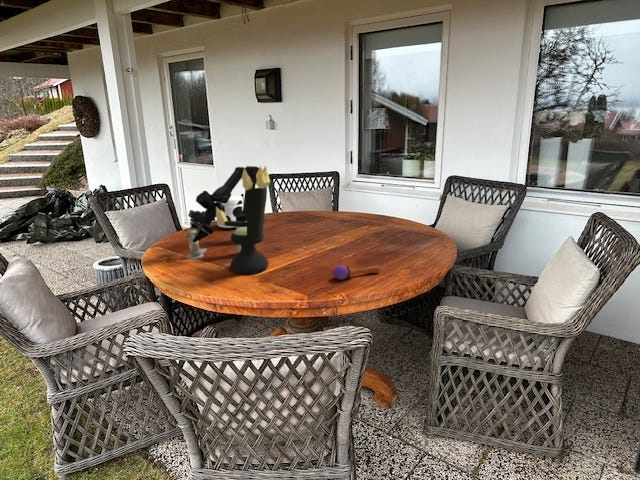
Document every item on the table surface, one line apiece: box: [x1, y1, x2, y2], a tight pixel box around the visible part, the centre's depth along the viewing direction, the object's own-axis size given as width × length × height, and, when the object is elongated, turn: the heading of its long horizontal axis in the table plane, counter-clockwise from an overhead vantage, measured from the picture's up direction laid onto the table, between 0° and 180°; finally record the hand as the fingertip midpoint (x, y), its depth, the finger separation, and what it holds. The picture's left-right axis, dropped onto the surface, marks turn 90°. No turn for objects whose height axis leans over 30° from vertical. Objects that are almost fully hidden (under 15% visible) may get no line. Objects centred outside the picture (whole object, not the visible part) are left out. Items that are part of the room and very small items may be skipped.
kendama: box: [332, 264, 381, 281], centre depth 172 cm, size 6×6×20 cm
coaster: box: [186, 253, 205, 260], centre depth 203 cm, size 8×8×1 cm
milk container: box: [215, 194, 244, 230], centre depth 253 cm, size 17×17×18 cm
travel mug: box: [235, 213, 247, 254], centre depth 202 cm, size 6×7×20 cm
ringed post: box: [186, 228, 200, 257], centre depth 201 cm, size 5×5×13 cm
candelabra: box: [215, 165, 271, 275], centre depth 178 cm, size 19×22×45 cm
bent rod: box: [199, 248, 208, 254], centre depth 210 cm, size 7×5×1 cm
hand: (190, 239), depth 199 cm, fingers open, 9 cm apart
